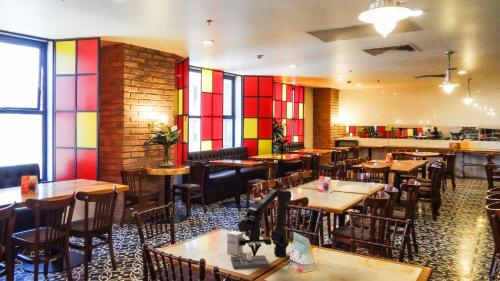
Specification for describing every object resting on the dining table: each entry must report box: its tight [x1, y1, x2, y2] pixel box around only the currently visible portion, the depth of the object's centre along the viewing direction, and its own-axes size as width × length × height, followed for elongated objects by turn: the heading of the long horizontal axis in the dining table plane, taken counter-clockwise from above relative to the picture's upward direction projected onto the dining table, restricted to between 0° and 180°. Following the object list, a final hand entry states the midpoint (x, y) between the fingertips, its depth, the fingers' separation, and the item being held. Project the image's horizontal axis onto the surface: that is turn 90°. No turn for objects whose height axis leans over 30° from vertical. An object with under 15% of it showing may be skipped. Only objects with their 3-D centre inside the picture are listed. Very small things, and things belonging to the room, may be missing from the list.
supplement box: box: [226, 230, 244, 256], centre depth 237 cm, size 7×7×13 cm
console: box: [230, 254, 270, 270], centre depth 220 cm, size 20×14×2 cm
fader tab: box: [246, 249, 253, 260], centre depth 219 cm, size 2×4×5 cm, turn 9°
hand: (254, 256), depth 220 cm, fingers closed
